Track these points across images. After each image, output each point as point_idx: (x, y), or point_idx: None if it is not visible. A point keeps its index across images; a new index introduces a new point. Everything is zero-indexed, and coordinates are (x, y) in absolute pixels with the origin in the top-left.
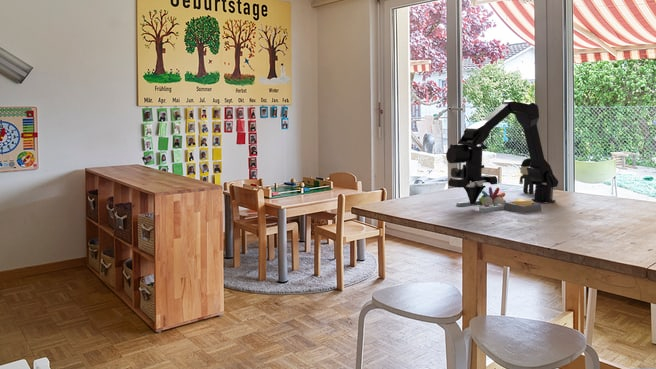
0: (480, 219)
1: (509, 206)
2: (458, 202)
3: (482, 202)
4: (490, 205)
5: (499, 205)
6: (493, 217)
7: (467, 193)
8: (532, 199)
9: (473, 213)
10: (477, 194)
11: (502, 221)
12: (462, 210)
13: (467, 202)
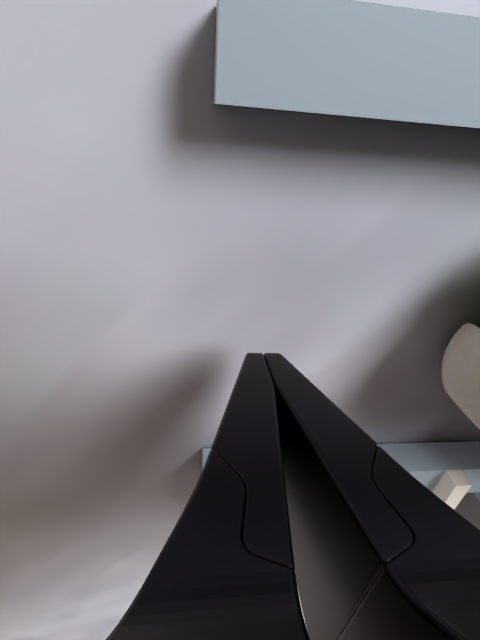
0: (3, 596)
1: None
2: (269, 2)
3: (462, 362)
4: None
5: (437, 493)
6: (130, 584)
7: (187, 511)
8: None
9: (79, 487)
10: (301, 587)
11: (103, 632)
12: (56, 361)
13: (430, 123)
